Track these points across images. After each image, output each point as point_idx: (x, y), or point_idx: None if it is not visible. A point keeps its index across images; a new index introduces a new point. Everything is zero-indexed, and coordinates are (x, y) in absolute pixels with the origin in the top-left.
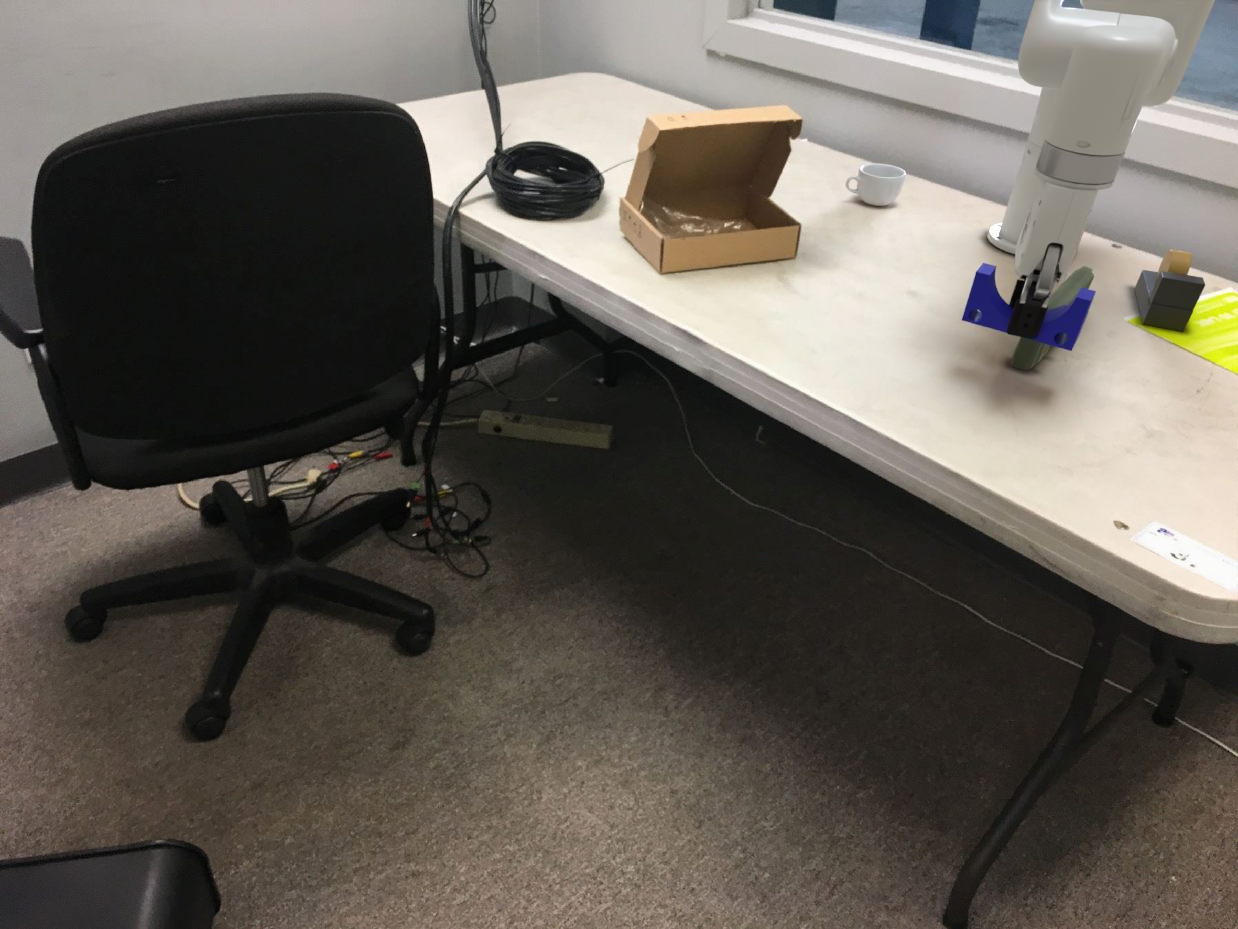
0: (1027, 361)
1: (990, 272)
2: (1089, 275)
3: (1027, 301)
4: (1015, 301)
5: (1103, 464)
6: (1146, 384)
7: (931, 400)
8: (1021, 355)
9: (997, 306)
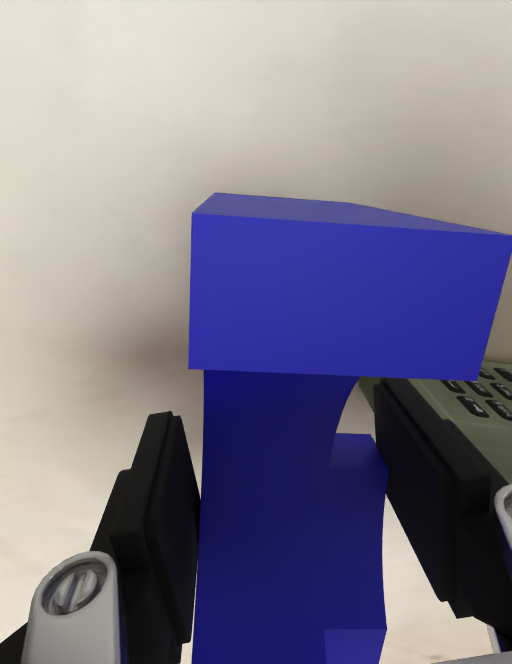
0: (367, 392)
1: (272, 359)
2: None
3: (10, 637)
4: (396, 426)
5: (31, 570)
6: (421, 592)
7: (20, 186)
8: (375, 379)
9: (237, 374)
